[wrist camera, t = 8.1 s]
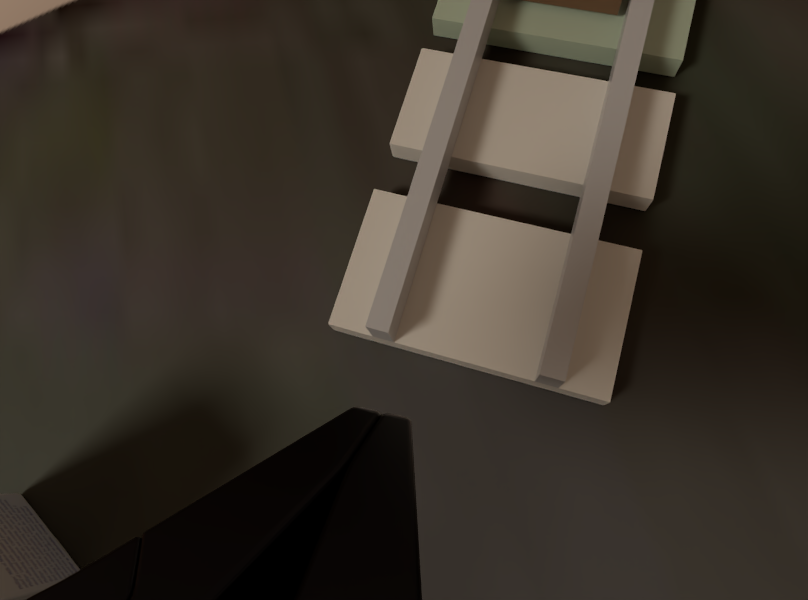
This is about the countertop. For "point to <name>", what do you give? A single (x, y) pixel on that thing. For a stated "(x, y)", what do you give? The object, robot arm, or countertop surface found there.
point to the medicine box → (28, 551)
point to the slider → (586, 5)
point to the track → (528, 165)
